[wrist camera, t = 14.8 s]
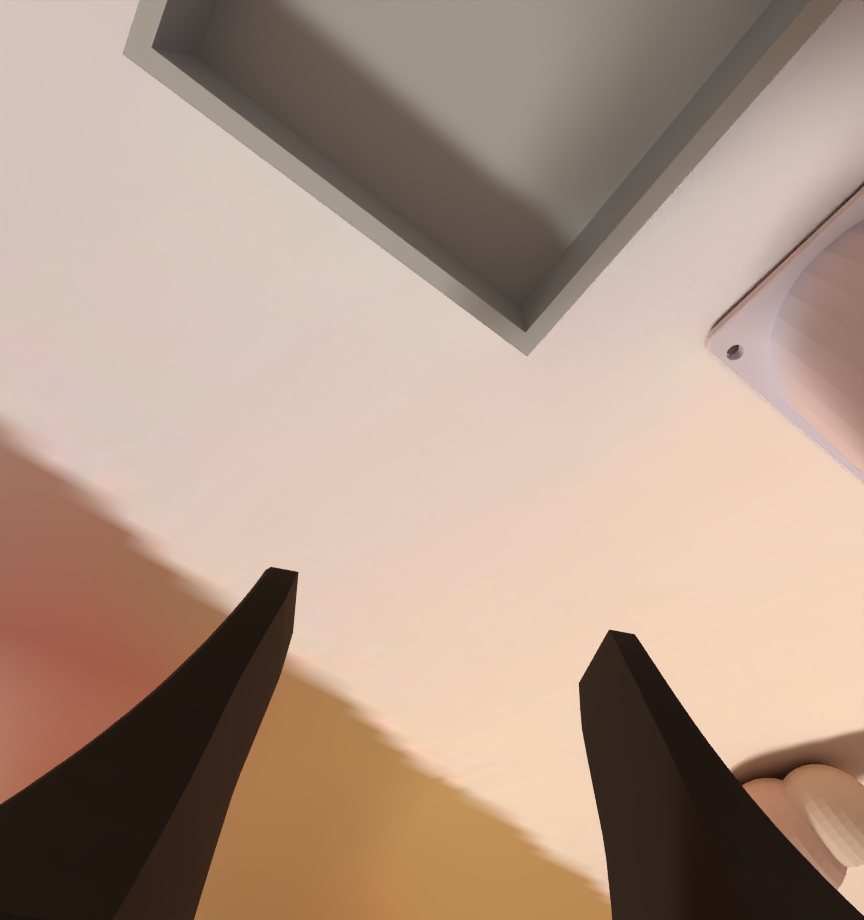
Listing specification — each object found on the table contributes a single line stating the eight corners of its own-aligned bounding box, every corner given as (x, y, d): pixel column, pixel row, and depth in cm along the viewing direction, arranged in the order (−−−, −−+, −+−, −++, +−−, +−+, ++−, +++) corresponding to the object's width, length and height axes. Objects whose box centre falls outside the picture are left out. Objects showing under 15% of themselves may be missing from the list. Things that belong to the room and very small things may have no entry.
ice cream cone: (605, 835, 36) (810, 717, 32) (670, 929, 35) (896, 817, 30) (593, 897, 31) (839, 764, 27) (670, 1013, 29) (947, 889, 25)
